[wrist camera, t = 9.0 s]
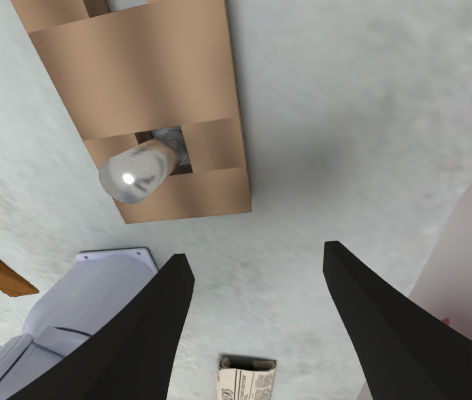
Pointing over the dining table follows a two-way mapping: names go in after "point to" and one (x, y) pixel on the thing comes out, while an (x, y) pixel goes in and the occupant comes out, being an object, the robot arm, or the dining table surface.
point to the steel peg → (142, 167)
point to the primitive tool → (14, 283)
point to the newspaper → (245, 381)
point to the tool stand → (150, 93)
